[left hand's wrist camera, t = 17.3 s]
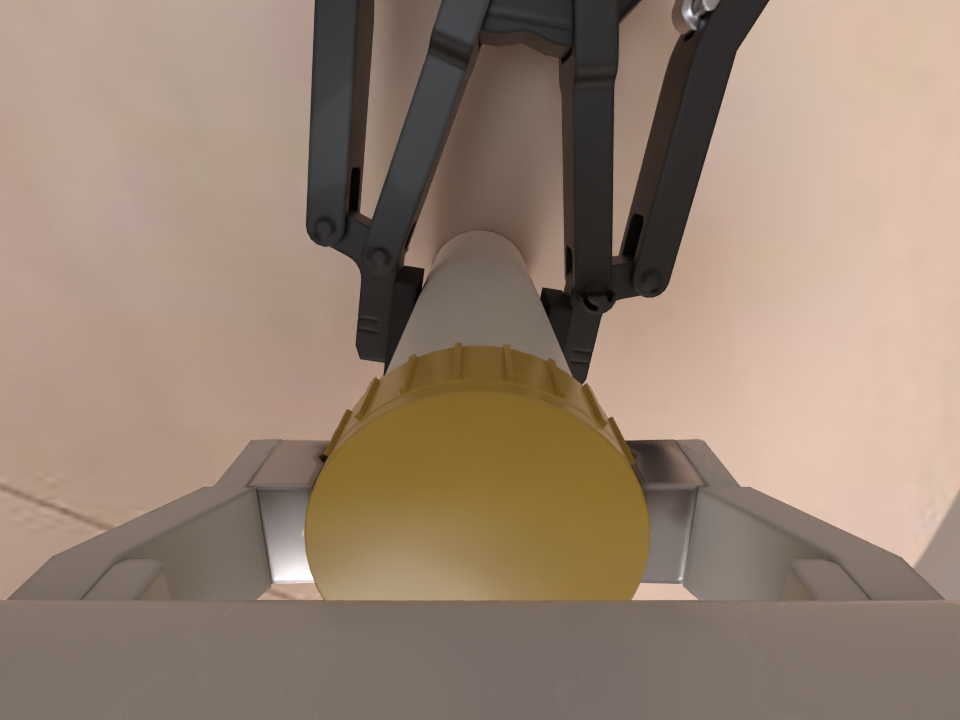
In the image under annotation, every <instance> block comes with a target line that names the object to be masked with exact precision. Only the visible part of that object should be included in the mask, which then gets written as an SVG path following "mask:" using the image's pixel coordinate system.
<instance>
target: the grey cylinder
mask: <svg viewBox="0 0 960 720" xmlns="http://www.w3.org/2000/svg"><path fill="white" fill-rule="evenodd" d="M455 343H462V347H463V346H495V347H501V348H503V344H508V345H510V348H511V349H513V350H517V351H521V352H524V353H527V354H531V355H534V356H536V357H538V358H541V359H543V360H545V361H547V360H548V359H549V358H551V359H553V360H555V363H556V366H557V367H558V368H560V369H562V370H563V371H565V372H567V373H568V374H569V375H571V376H572V374H571V372H570V370H569V367H568V365H567V362H566V360H565V358H564V355H563V353H562V350H561V348H560V346H559V343H558V341H557V338H556V336H555V334H554V331H553V329H552V326H551V324H550V322H549V319H548V317H547V315H546V312H545V310H544V307H543V305H542V303H541V300H540V298H539V295H538V293H537V291H536V288H535V286H534V283H533V281H532V279H531V276H530V274H529V271H528V269H527V267H526V264H525V262H524V260H523V257H522V255H521V254H520V252H519V251H518V249H517V248H516V247H515V246H514V245H513V244H512V243H511V242H510V241H509V240H508V239H506V238H505V237H503V236H501V235H499V234H497V233H494V232H490V231H485V230H475V231H468V232H465V233H462V234H459V235H457V236H456V237H454V238H452V239H451V240H449V241H448V242H447V243H446V244H445V245H444V246H443V247H442V249H441V250H440V251H439V253H438V254H437V256H436V258H435V261H434V263H433V265H432V268H431V270H430V272H429V275H428V277H427V279H426V282H425V284H424V286H423V288H422V291H421V293H420V295H419V298H418V300H417V302H416V305H415V307H414V309H413V312H412V314H411V316H410V319H409V321H408V323H407V325H406V328H405V330H404V332H403V335H402V337H401V339H400V342H399V344H398V346H397V349H396V351H395V353H394V355H393V358H392V360H391V362H390V365H389V367H388V369H387V372H386V374H388V373H389V372H391V371H392V370H394V369H395V368H396V367H398V366H400V365H402V364H404V363H406V362H408V359H409V357H410V356H411V355H413V354H416V356H417V357H419V356H422V355H425V354H428V353H431V352H434V351H438V350H443V349H448V348H453V347H455ZM386 374H385V375H386Z"/></svg>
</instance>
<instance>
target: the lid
mask: <svg viewBox="0 0 960 720" xmlns="http://www.w3.org/2000/svg"><path fill="white" fill-rule="evenodd" d="M324 454H325V455H327V456H328V458H327V460H326V462H324V466H323V468H322V470H321V472H320V474H319V476H318V478H317V480H316V483H315V485H314V487H313V490H312V492H311V494H310V498H309V502H308V506H307V510H306V515H305V528H304V538H305V551H306V556H307V560H308V564H309V568H310V572H311V574H312V577H313V579H314V582H315V584H316V587H317V589H318V591H319V592H320V594H321V596H322V597H323V599H324V600H632V598H633V596H634V594H635V592H636V590H637V588H638V586H639V584H640V582H641V580H642V577H643V574H644V571H645V568H646V565H647V560H648V554H649V549H650V527H651V526H650V519H649V512H648V506H647V503H646V500H645V496H644V493H643V490H642V487H641V485H640V483H639V481H638V479H637V477H636V475H635V473H634V471H633V469H632V467H631V464H633V463H635V460H634V458H633V456H632V454H631V452H630V450H629V448H628V446H627V444H626V442H625V440H624V438H623V436H622V434H621V432H620V430H619V428H618V426H617V424H616V422H615V420H614V418H613V417H611V418H607V416H606V414H605V412H604V411H603V409H602V408H601V406H600V405H599V403H598V401H597V399H596V397H595V395H594V393H593V391H592V389H591V387H590V386H589V385H588V384H587V383H586V384H585V385H584V386H583V385H582V384H581V383H579V382H578V381H577V380H576V379H574V378H573V377H572V376H571V375H569V374H568V373H567V372H565V371H563V370H562V369H560V368H558V367H557V366H556V363H555V360H553V359H551V358H549V359H548V360H547V361H545V360H543V359H541V358H538V357H536V356H534V355H531V354H527V353H524V352H521V351H517V350H513V349H511V348H510V345H508V344H503V348H501V347H495V346H463V347H462V343H455V347H453V348H448V349H443V350H438V351H434V352H431V353H428V354H425V355H422V356H419V357H417V356H416V354H413V355H411V356H410V357H409V359H408V362H406V363H404V364H402V365H400V366H398V367H396V368H395V369H394V370H392V371H391V372H389V373H388V374H386V375H385V376H383V377H382V378H381V379H380V380H378V379H377V378H376V377H375V378H374V379H373V380H372V381H371V383H370V385H369V387H368V389H367V391H366V393H365V394H364V395H363V396H362V398H361V399H360V400H359V401H358V402H357V404H356V405H355V407H354V408H353V410H352V411H350V410H348V409H347V410H346V412H345V414H344V416H343V418H342V419H341V421H340V423H339V425H338V427H337V429H336V431H335V433H334V435H333V437H332V439H331V440H330V442H329V444H328V446H327V448H326V450H325V452H324Z"/></svg>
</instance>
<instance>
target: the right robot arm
mask: <svg viewBox="0 0 960 720" xmlns="http://www.w3.org/2000/svg"><path fill="white" fill-rule="evenodd" d="M641 1H642V0H442V3H441V6H440V9H439V12H438V15H437V18H436V21H435V24H434V27H433V30H432V34H431V38H430V44H429V49H428V53H427V56H426V59H425V62H424V65H423V68H422V71H421V74H420V77H419V80H418V83H417V86H416V89H415V92H414V95H413V98H412V101H411V104H410V107H409V110H408V113H407V116H406V119H405V122H404V125H403V128H402V131H401V134H400V137H399V140H398V143H397V146H396V149H395V152H394V155H393V158H392V161H391V164H390V167H389V170H388V173H387V176H386V179H385V182H384V185H383V188H382V191H381V194H380V197H379V200H378V203H377V206H376V209H375V212H374V215H373V218H372V219H370V218H368V217H366V216H364V215H363V214H361V213H360V207H361V193H362V179H363V165H364V151H365V137H366V124H367V110H368V96H369V82H370V68H371V55H372V41H373V27H374V0H315V14H314V39H313V64H312V89H311V114H310V139H309V164H308V189H307V214H306V228H307V233H308V235H309V236H310V238H311V240H313V241H314V242H315V243H316V244H318V245H321V246H324V247H327V246H330V247H332V248H334V249H335V250H337V251H339V252H341V253H343V254H345V255H347V256H348V257H350V258H351V259H353V261H354V262H355V263H356V264H357V266H358V267H359V269H360V273H361V290H360V301H359V313H358V324H357V335H356V348H357V351H358V354H359V357H360V359H363V360H370V361H376V362H383V363H385V367H384V376H385V374H386V372H387V369H388V367H389V365H390V362H391V360H392V358H393V355H394V353H395V351H396V349H397V346H398V344H399V342H400V339H401V337H402V335H403V332H404V330H405V328H406V325H407V323H408V321H409V319H410V316H411V314H412V312H413V309H414V307H415V305H416V302H417V300H418V298H419V295H420V293H421V291H422V284H423V276H424V269H423V268H417V267H410V266H404V258H405V254H406V253H407V251H408V246H409V243H410V241H411V238H412V235H413V232H414V229H415V227H416V224H417V221H418V218H419V216H420V213H421V210H422V207H423V204H424V202H425V199H426V196H427V193H428V191H429V188H430V185H431V182H432V179H433V177H434V174H435V171H436V168H437V166H438V163H439V160H440V157H441V154H442V152H443V149H444V146H445V143H446V141H447V138H448V135H449V132H450V129H451V127H452V124H453V121H454V118H455V116H456V113H457V110H458V107H459V104H460V102H461V99H462V96H463V93H464V91H465V88H466V85H467V82H468V80H469V77H470V75H471V73H472V71H473V68H474V65H475V63H476V60H477V57H478V54H479V52H480V49H481V46H482V44H487V45H493V46H505V45H513V44H525V45H527V46H529V47H531V48H533V49H535V50H537V51H539V52H541V53H543V54H544V55H548V56H553V57H559V83H560V90H561V96H562V146H563V202H564V258H565V280H566V284H565V288H564V293H563V291H562V290H556V289H549V288H543V287H542V292H541V297H540V300H541V303H542V305H543V307H544V310H545V312H546V315H547V317H548V319H549V322H550V324H551V326H552V329H553V331H554V334H555V336H556V338H557V341H558V343H559V346H560V348H561V350H562V353H563V355H564V358H565V360H566V362H567V365H568V367H569V370H570V372H571V374H572V377H573V378H574V379H576V380H577V381H578V382H579V383H581V384H583V383H584V381H585V380H586V378H587V374H588V369H589V364H590V361H591V357H592V352H593V349H594V345H595V341H596V337H597V333H598V328H599V324H600V320H601V317H602V314H603V313H605V312H607V311H608V310H610V309H611V308H612V306H613V305H614V304H615V302H616V301H617V300H620V299H624V298H630V297H635V296H640V295H641V296H643V297H646V298H650V297H655V296H658V295H660V294H661V293H662V292H663V291H664V290H666V288H667V286H668V284H669V281H670V277H671V274H672V270H673V267H674V264H675V260H676V257H677V253H678V250H679V247H680V243H681V240H682V236H683V233H684V229H685V226H686V223H687V219H688V216H689V212H690V209H691V206H692V202H693V199H694V195H695V192H696V188H697V185H698V182H699V178H700V175H701V171H702V168H703V165H704V161H705V158H706V154H707V151H708V147H709V144H710V141H711V137H712V134H713V130H714V127H715V124H716V120H717V117H718V113H719V110H720V106H721V103H722V100H723V96H724V93H725V89H726V86H727V83H728V79H729V76H730V72H731V69H732V65H733V62H734V59H735V55H736V52H737V50H738V48H739V47H740V45H741V43H742V42H743V40H744V39H745V37H746V36H747V34H748V33H749V31H750V30H751V28H752V26H753V25H754V23H755V22H756V20H757V19H758V17H759V16H760V14H761V13H762V11H763V9H764V8H765V6H766V5H767V3H768V2H769V0H675V3H674V6H673V10H672V22H673V25H674V27H675V29H676V30H677V31H678V32H679V33H681V35H680V37H679V39H678V41H677V43H676V45H675V48H674V50H673V52H672V55H671V57H670V60H669V63H668V66H667V70H666V73H665V77H664V80H663V84H662V88H661V92H660V96H659V100H658V104H657V108H656V112H655V116H654V119H653V123H652V127H651V131H650V135H649V139H648V143H647V147H646V151H645V154H644V158H643V162H642V166H641V170H640V174H639V178H638V182H637V186H636V190H635V193H634V197H633V201H632V205H631V209H630V213H629V217H628V221H627V225H626V229H625V232H624V236H623V240H622V244H621V248H620V252H619V255H618V256H613V257H612V222H613V137H614V83H615V78H616V75H617V69H618V55H619V24H620V23H621V22H622V21H623V20H624V19H625V18H626V17H627V16H628V14H629V13H630V12H631V11H632V10H633V9H634V8H635V7H636V6H637V5H638V4H639V3H640V2H641ZM403 266H404V267H403Z"/></svg>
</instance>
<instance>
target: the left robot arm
mask: <svg viewBox="0 0 960 720" xmlns="http://www.w3.org/2000/svg"><path fill="white" fill-rule="evenodd" d="M329 442H330V441H323V440H281V439H267V440H251V441H250V442H249V444H248V445H247V446H246V447H245V449H244V450H243V451H242V452H241V454H240V455H239V456H238V457H237V458H236V460H235V461H234V462H233V463H232V465H231V466H230V467H229V468H228V470H227V471H226V472H225V473H224V474H223V476H222V477H221V478H220V479H219V481H218V482H217V483H216V484H215V485H214V487H203V488H201V489H199V490H197V491H194V492H192V493H190V494H188V495H186V496H184V497H181V498H179V499H177V500H175V501H173V502H170V503H168V504H166V505H164V506H162V507H160V508H157V509H155V510H153V511H151V512H149V513H146V514H144V515H142V516H140V517H138V518H136V519H133V520H131V521H129V522H127V523H125V524H123V525H120V526H118V527H116V528H114V529H112V530H109V531H107V532H105V533H103V534H101V535H99V536H96V537H94V538H92V539H90V540H88V541H85V542H83V543H81V544H79V545H77V546H75V547H72V548H70V549H68V550H66V551H64V552H61V553H59V554H57V555H55V556H53V557H52V558H51V559H49V560H48V561H47V562H46V563H45V564H44V565H43V566H42V567H41V568H40V569H39V570H38V571H37V572H36V573H34V574H33V575H32V576H31V577H30V578H29V579H28V580H27V581H26V582H25V583H24V584H23V585H22V586H21V587H19V588H18V589H17V590H16V591H15V592H14V593H13V594H12V595H11V596H10V597H9V598H8V599H7V600H0V720H960V600H945V599H944V598H943V597H942V596H941V595H940V594H939V593H938V592H937V591H936V590H935V589H934V588H933V587H932V586H931V585H930V584H929V583H928V582H927V581H926V580H925V579H923V578H922V577H921V576H920V575H919V574H918V573H917V572H916V571H915V570H914V569H913V568H912V567H911V566H910V565H909V564H908V563H907V562H906V561H905V560H904V559H903V558H902V557H899V556H897V555H895V554H893V553H891V552H889V551H887V550H884V549H882V548H880V547H878V546H876V545H874V544H872V543H869V542H867V541H865V540H863V539H861V538H859V537H856V536H854V535H852V534H850V533H848V532H846V531H844V530H841V529H839V528H837V527H835V526H833V525H831V524H828V523H826V522H824V521H822V520H820V519H818V518H816V517H813V516H811V515H809V514H807V513H805V512H803V511H801V510H798V509H796V508H794V507H792V506H790V505H788V504H785V503H783V502H781V501H779V500H777V499H775V498H773V497H770V496H768V495H766V494H764V493H762V492H760V491H757V490H755V489H753V488H751V487H741V486H740V485H739V484H738V483H737V481H736V480H735V479H734V478H733V476H732V475H731V474H730V473H729V471H728V470H727V469H726V468H725V466H724V465H723V464H722V463H721V461H720V460H719V459H718V458H717V456H716V455H715V454H714V453H713V451H712V450H711V449H710V448H709V446H708V445H707V444H706V443H705V441H703V440H700V439H688V440H634V441H625V442H626V444H627V446H628V448H629V450H630V452H631V454H632V456H633V458H634V460H635V463H633V464H631V467H632V469H633V471H634V473H635V475H636V477H637V479H638V481H639V483H640V485H641V487H642V490H643V493H644V496H645V500H646V503H647V506H648V512H649V519H650V526H651V527H650V549H649V554H648V560H647V565H646V568H645V571H644V574H643V577H642V580H641V582H640V583H669V584H683V586H684V587H685V588H686V589H687V590H688V591H689V592H690V593H692V594H693V595H694V596H695V597H696V598H697V599H698V600H256V599H257V598H259V597H260V596H261V595H262V594H263V593H264V592H266V591H267V590H268V589H269V588H270V587H271V584H285V583H315V582H314V579H313V577H312V574H311V572H310V568H309V564H308V560H307V556H306V551H305V538H304V528H305V515H306V510H307V506H308V502H309V498H310V494H311V492H312V490H313V487H314V485H315V483H316V480H317V478H318V476H319V474H320V472H321V470H322V468H323V466H324V462H326V460H327V458H328V456H327V455H325V454H324V452H325V450H326V448H327V446H328V444H329Z"/></svg>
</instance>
